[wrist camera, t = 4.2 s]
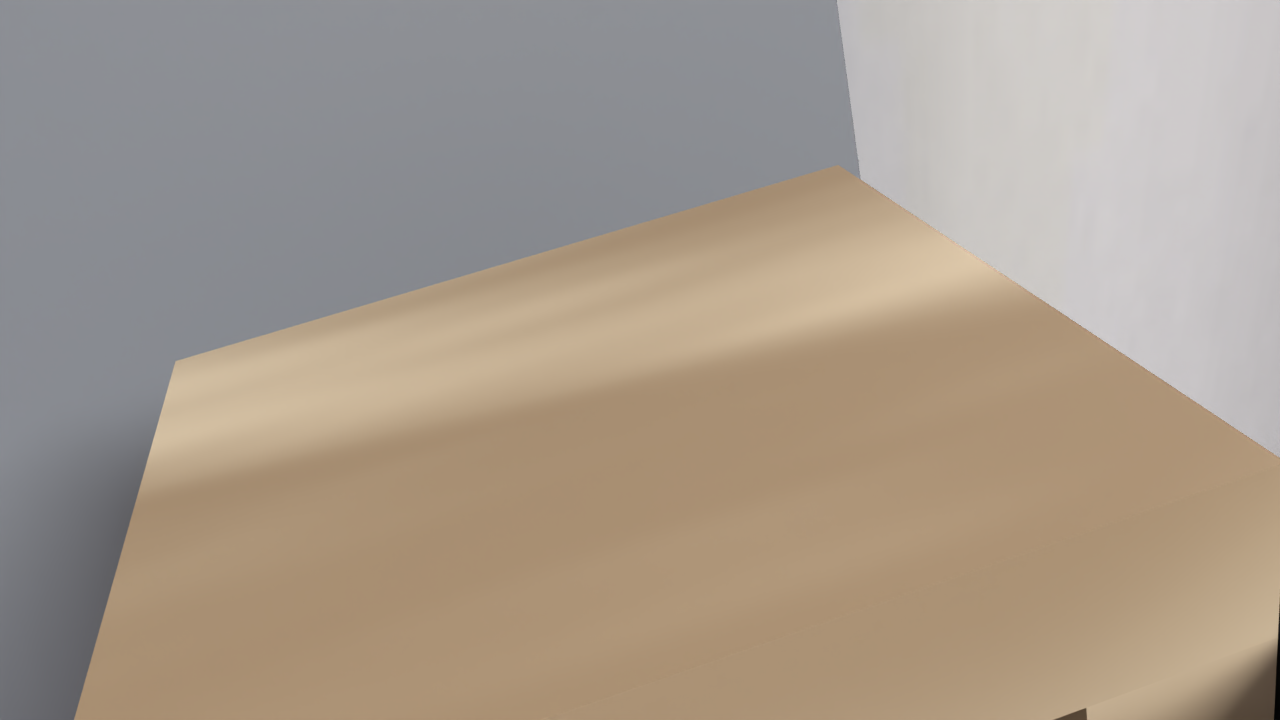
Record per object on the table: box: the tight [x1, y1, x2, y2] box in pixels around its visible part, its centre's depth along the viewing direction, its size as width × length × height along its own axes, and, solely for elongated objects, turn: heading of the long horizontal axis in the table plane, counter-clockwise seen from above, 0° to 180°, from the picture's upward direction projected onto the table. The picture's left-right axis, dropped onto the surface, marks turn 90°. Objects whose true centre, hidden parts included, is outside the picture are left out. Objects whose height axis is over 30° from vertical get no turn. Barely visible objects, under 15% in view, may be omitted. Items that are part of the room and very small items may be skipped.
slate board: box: [0, 0, 861, 720], centre depth 11 cm, size 20×14×1 cm
